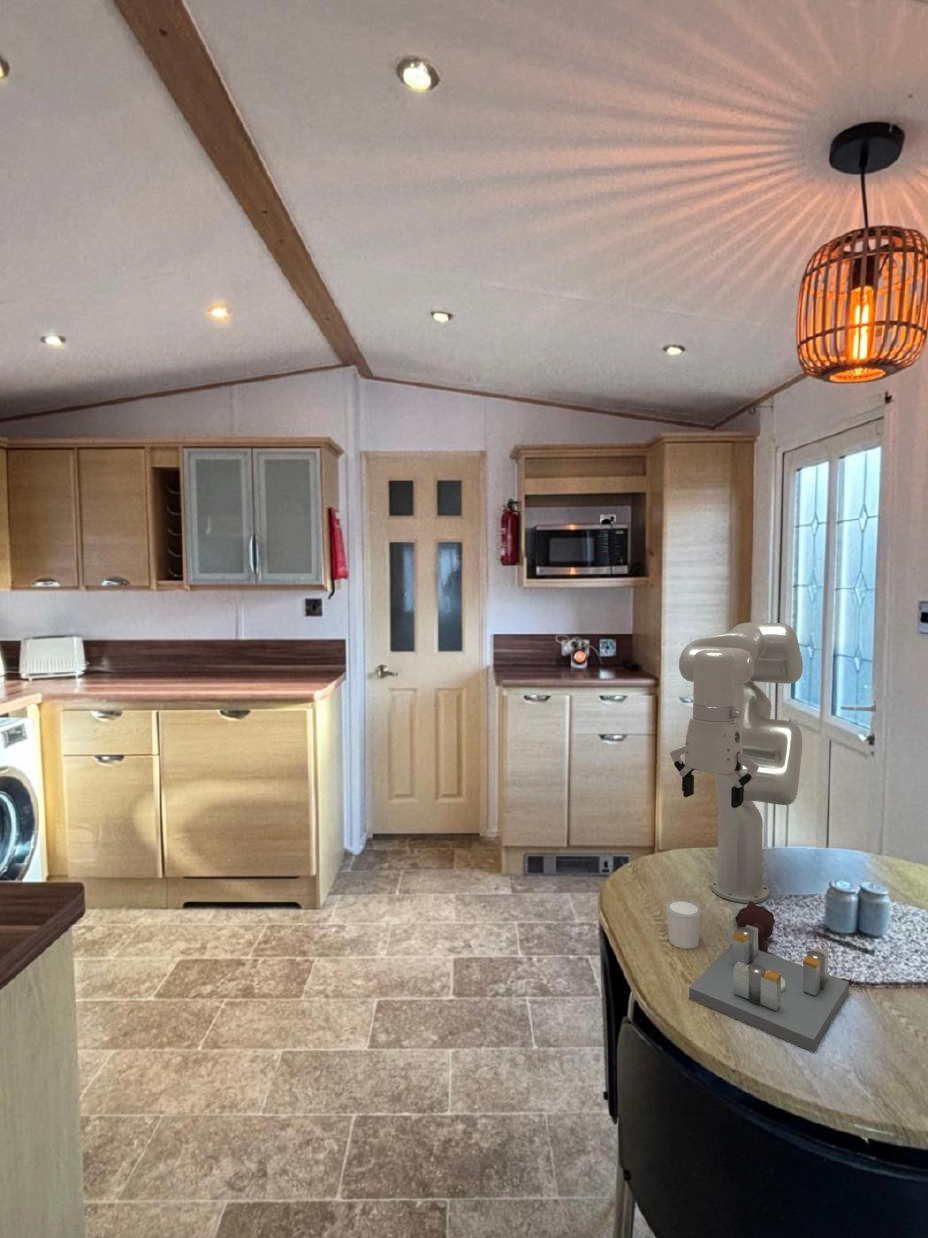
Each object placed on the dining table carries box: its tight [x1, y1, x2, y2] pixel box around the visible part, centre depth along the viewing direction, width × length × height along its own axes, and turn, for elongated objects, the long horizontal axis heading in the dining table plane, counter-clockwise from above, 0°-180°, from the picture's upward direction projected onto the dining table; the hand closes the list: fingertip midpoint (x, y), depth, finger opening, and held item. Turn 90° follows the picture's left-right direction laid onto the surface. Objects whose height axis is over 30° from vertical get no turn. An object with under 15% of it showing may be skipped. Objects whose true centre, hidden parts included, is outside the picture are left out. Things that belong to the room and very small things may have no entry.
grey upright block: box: [732, 925, 759, 965], centre depth 126 cm, size 7×3×5 cm, turn 137°
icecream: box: [735, 901, 776, 953], centre depth 137 cm, size 7×7×15 cm
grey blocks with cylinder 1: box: [733, 962, 781, 1011], centre depth 114 cm, size 7×3×5 cm, turn 47°
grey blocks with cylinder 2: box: [802, 947, 829, 996], centre depth 117 cm, size 7×3×5 cm, turn 137°
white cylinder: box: [665, 899, 703, 950], centre depth 136 cm, size 7×7×7 cm
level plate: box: [688, 942, 850, 1053], centre depth 118 cm, size 20×20×3 cm
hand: (711, 801), depth 132 cm, fingers open, 9 cm apart
